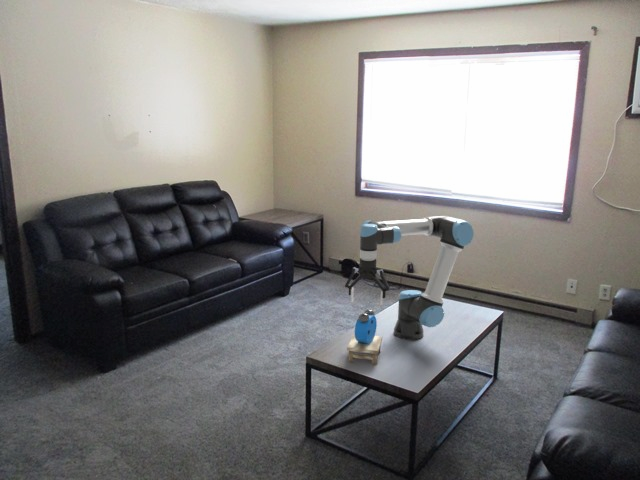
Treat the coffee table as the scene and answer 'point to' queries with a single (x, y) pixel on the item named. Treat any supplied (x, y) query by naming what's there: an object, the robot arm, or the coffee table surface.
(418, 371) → the coffee table surface
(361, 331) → the alarm clock
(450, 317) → the coffee table surface
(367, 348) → the stool
